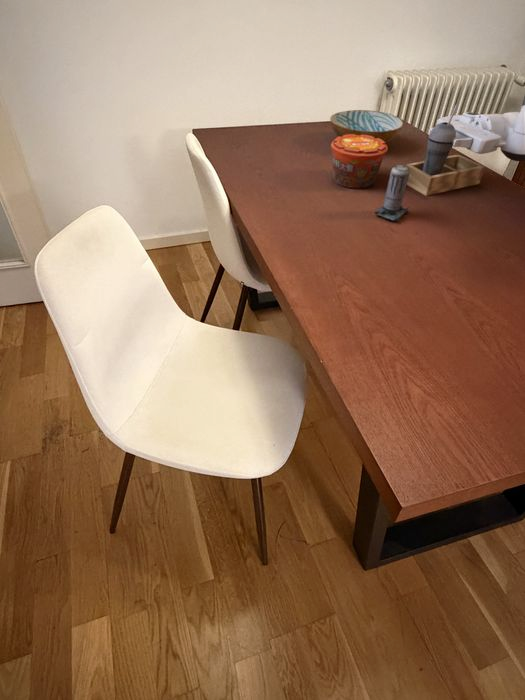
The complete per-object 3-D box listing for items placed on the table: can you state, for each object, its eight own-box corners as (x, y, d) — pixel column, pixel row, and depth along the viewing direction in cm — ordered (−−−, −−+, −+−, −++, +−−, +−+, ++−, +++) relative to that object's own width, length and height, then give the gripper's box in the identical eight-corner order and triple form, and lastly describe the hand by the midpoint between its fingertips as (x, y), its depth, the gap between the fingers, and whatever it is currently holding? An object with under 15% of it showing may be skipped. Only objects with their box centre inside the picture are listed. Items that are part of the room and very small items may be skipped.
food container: (345, 195, 113) (351, 155, 106) (317, 174, 124) (321, 137, 116) (391, 186, 118) (400, 147, 111) (360, 167, 128) (367, 130, 121)
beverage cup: (421, 174, 122) (442, 98, 108) (444, 180, 119) (470, 103, 105) (412, 182, 117) (433, 104, 103) (436, 188, 114) (462, 109, 100)
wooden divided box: (452, 170, 127) (458, 154, 124) (479, 183, 120) (485, 166, 117) (400, 181, 121) (405, 164, 117) (425, 195, 114) (431, 178, 110)
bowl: (314, 147, 141) (316, 122, 135) (346, 129, 156) (349, 106, 150) (381, 163, 131) (387, 136, 125) (408, 142, 146) (414, 117, 140)
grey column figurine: (380, 205, 109) (391, 159, 101) (409, 211, 107) (422, 164, 98) (371, 219, 103) (382, 171, 95) (401, 226, 101) (415, 178, 93)
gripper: (505, 157, 108) (462, 162, 105) (456, 133, 122) (417, 138, 119) (515, 131, 104) (471, 136, 100) (464, 110, 117) (423, 114, 114)
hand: (441, 137), depth 110 cm, fingers open, 8 cm apart
